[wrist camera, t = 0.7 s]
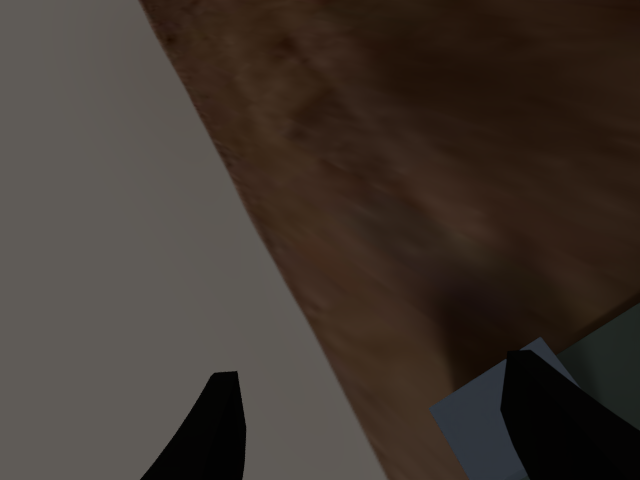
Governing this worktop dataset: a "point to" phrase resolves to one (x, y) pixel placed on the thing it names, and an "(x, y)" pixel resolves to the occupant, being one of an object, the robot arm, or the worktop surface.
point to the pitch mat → (610, 365)
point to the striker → (485, 422)
